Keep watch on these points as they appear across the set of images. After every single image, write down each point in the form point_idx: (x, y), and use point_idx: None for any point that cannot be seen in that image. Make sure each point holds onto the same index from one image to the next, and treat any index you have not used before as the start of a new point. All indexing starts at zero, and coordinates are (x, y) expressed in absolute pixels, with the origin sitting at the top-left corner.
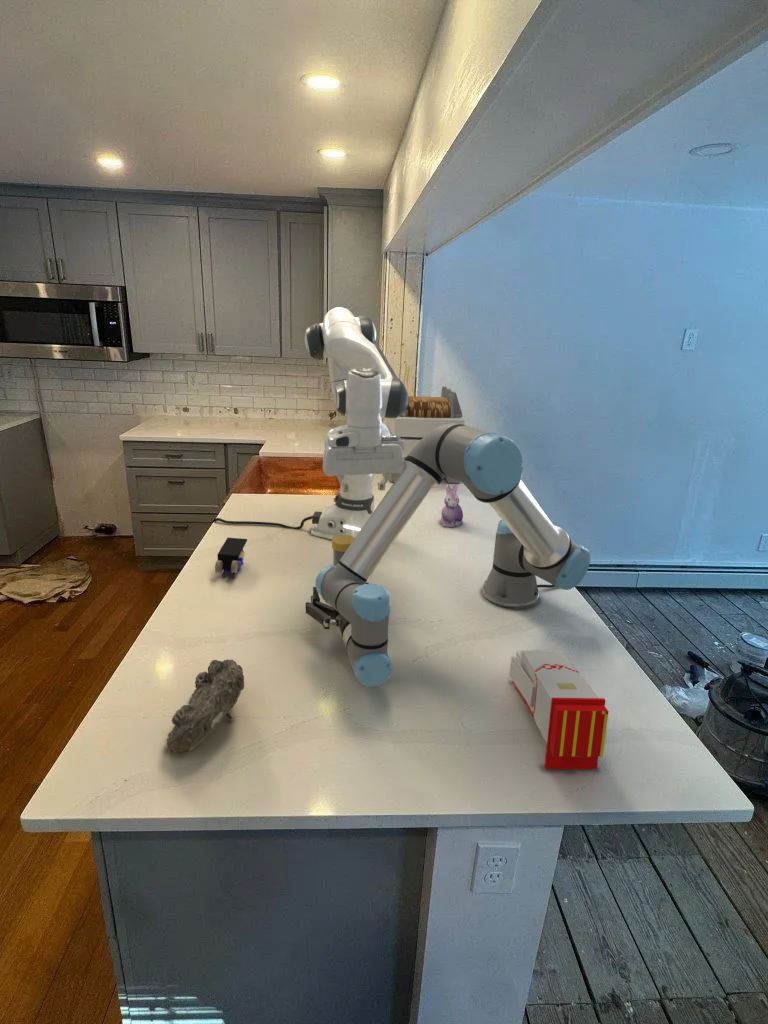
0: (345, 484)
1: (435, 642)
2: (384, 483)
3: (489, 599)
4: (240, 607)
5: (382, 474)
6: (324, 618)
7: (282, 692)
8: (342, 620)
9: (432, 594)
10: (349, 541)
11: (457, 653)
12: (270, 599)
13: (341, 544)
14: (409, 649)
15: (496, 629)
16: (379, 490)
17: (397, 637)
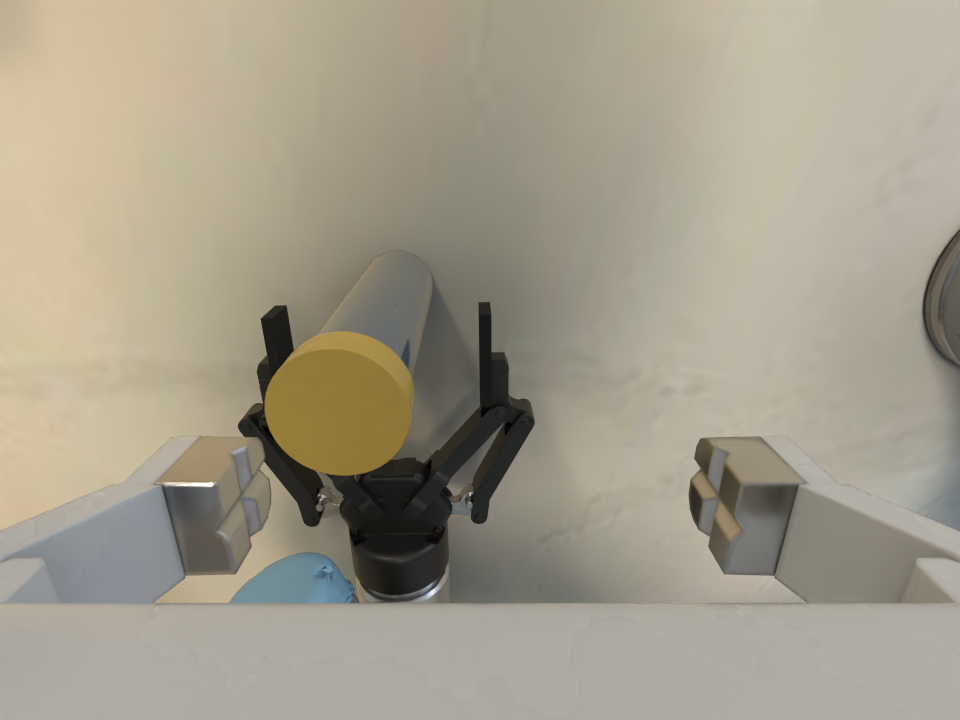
0: (190, 510)
1: (627, 483)
2: (807, 582)
3: (929, 307)
4: (27, 197)
5: (926, 578)
6: (303, 516)
7: (233, 588)
8: (353, 553)
9: (758, 218)
10: (369, 443)
11: (659, 530)
12: (129, 151)
13: (319, 471)
14: (548, 500)
15: (825, 455)
16: (692, 501)
17: (534, 448)
